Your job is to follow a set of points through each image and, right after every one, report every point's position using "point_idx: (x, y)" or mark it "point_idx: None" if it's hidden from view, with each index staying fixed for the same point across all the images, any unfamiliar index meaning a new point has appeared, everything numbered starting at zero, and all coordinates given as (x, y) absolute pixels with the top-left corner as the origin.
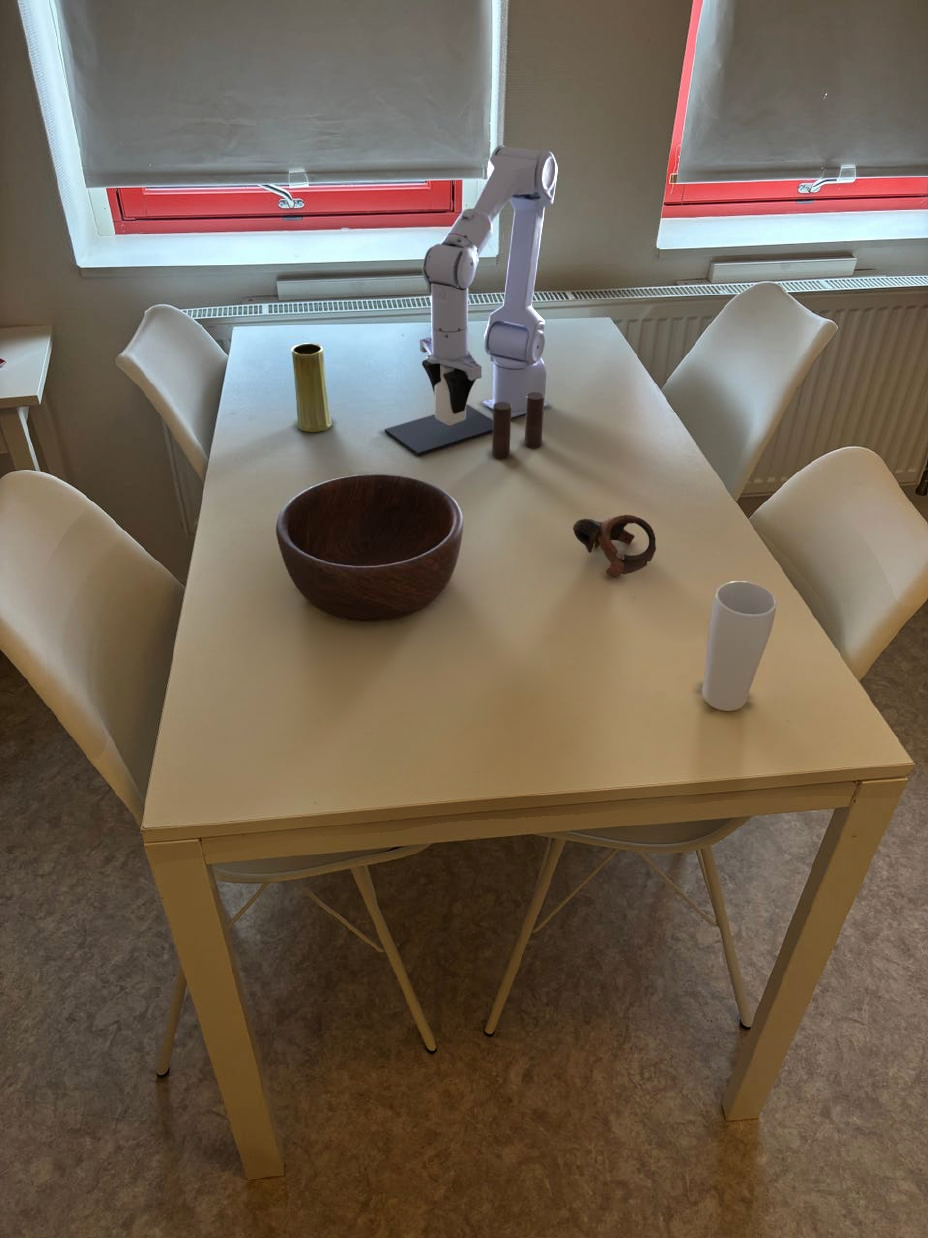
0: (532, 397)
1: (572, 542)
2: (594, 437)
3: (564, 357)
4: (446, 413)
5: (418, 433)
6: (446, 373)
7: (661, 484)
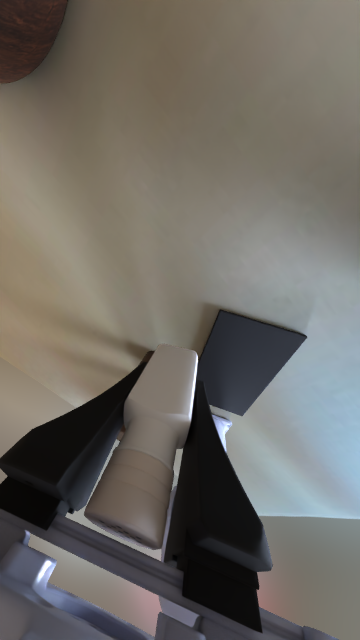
0: (120, 433)
1: (3, 270)
2: None
3: None
4: (157, 356)
5: (252, 349)
6: (53, 487)
7: (55, 374)
